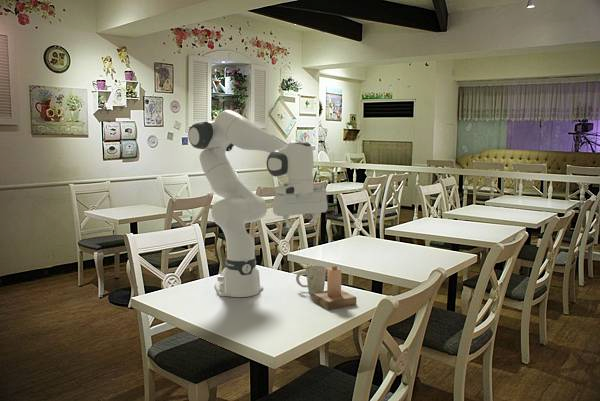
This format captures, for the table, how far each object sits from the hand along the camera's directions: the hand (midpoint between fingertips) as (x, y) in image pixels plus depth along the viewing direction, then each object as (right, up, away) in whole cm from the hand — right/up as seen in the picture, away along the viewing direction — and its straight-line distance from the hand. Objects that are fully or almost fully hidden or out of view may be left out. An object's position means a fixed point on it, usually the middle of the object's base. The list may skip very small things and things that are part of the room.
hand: (300, 226), depth 176 cm
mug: (+4, -28, +28) cm, 40 cm away
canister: (+13, -27, +14) cm, 32 cm away
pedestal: (+13, -30, +14) cm, 35 cm away
